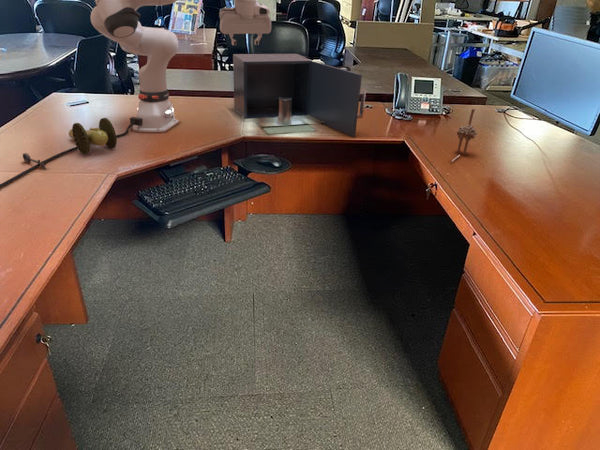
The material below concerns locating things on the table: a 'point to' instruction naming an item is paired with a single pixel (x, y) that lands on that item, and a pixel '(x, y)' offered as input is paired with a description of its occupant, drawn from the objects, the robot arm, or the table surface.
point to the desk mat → (288, 129)
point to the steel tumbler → (284, 111)
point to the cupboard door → (336, 97)
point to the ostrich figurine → (466, 134)
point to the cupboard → (271, 84)
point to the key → (28, 159)
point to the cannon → (93, 136)
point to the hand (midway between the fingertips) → (245, 44)
